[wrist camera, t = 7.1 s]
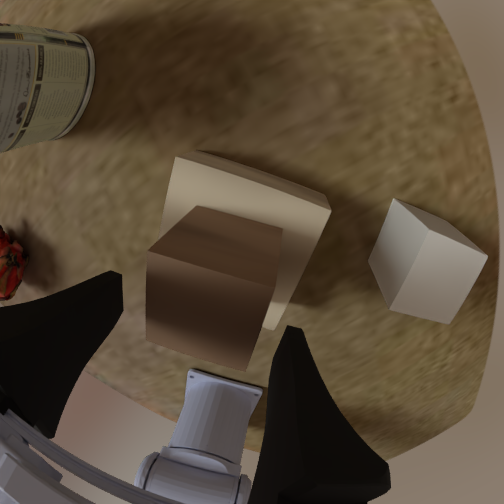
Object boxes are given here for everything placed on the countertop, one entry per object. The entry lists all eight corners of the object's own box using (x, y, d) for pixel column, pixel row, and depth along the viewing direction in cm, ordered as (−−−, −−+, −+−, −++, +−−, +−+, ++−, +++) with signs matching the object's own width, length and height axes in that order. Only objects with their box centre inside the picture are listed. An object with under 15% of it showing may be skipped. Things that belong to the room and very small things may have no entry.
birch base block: (278, 297, 22) (274, 330, 19) (172, 259, 22) (151, 284, 19) (324, 193, 18) (331, 210, 15) (198, 149, 18) (175, 156, 15)
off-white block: (419, 277, 19) (449, 324, 14) (367, 260, 19) (388, 309, 14) (446, 220, 17) (488, 256, 12) (393, 197, 17) (429, 229, 12)
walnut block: (260, 299, 18) (245, 371, 12) (185, 278, 18) (145, 340, 13) (282, 228, 15) (275, 288, 10) (196, 205, 16) (147, 250, 10)
